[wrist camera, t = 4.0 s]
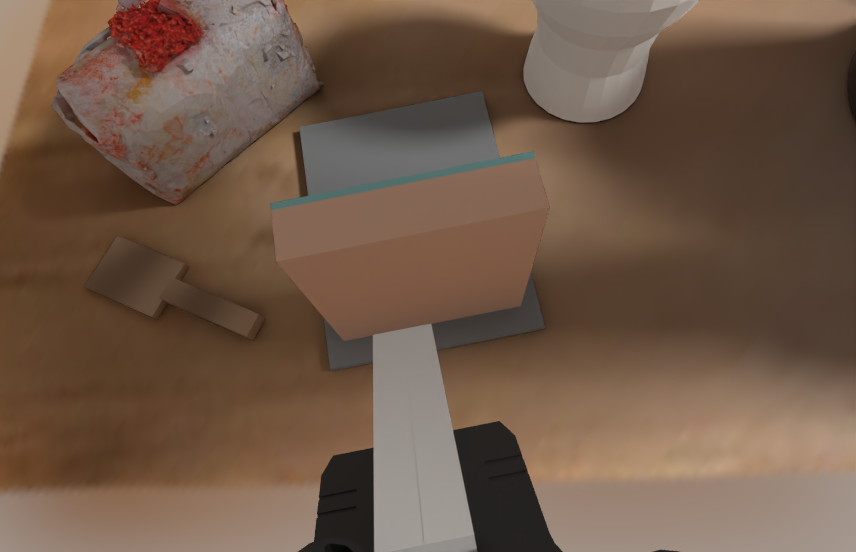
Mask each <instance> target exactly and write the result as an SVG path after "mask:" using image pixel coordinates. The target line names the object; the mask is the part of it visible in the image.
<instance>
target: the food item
mask: <svg viewBox="0 0 856 552" xmlns="http://www.w3.org/2000/svg"><path fill="white" fill-rule="evenodd" d="M144 1H145V0H118V2H119V3H118V6H117V8H116V10H117V11H118V12H116V13H117V14H115V15H114V17H113V18H112V19H110V20H111V21H110V20H109V21H108V24H109V27H108V28H106V29H105V30H103V31H102V32H101V33H99V34H98V35H97V36H96V37H95V38H93V39H92V40H91V41H90V42H88V43H87V44H86V45H85V46H84V48H83V49H82V51H81V52H80V54H79V55H78V57H77V59H76V61H75V63H74V64H73V65H72V66H70V67H69V68H68V69H67V70H65V71H64V72H63V73H61V74H60V75H59V76H58V77H57V79H56V82H57V87H58V92H57V96H56V97H54V103H53V104H52V105H51V106H52V107H53V108H54V109H55V111H56V112H57V113H58V114H59V115H60V117H61V118H62V120H63V121H64V122H65V123H66V125H67V126H68V127H69V128H70V129H71V130H73V131H74V132H76V133H78V134H79V135H80V136H81V137H82V139H83V140H85V141H86V142H88V143H89V144H90V145H92V146H93V147H95V148H96V149H97V150H98V152H99V153H100V154H101V155H102V156H103V157H104V158H106V159H107V160H108V161H110V162H111V163H112V164H114V165H115V166H116V167H118V168H119V169H120V170H122V171H123V172H124V173H125V174H126V175H127V176H129V177H130V178H131V179H133V180H134V181H136V182H137V183H138V184H140V185H141V186H142V187H144V188H145V189H147V190H148V191H150V192H151V193H153V194H154V195H156V196H158V197H160V198H162V199H164V200H166V201H168V202H171V203H173V204H175V205H177V204H179V203H180V202H182V201H184V200H185V199H186V198H187V197H188V196H189V195H190V194H191V193H192V192H193V191H194V190H195V189H196V188H198V187H199V186H200V185H201V184H202V183H204V182H205V181H207V180H208V179H209V178H211V177H212V176H213V175H214V174H216V173H217V172H218V171H219V170H220V169H221V168H222V167H223V166H224V165H225V164H226V163H227V162H229V161H230V160H232V159H233V158H235V157H236V156H237V155H239V154H240V153H241V152H242V151H243V150H245V149H246V148H247V147H248V146H249V145H251V144H252V143H253V142H254V141H255V140H256V139H257V138H259V137H261V136H262V135H264V134H265V133H266V132H267V131H268V130H270V129H271V128H272V127H274V126H275V125H276V124H278V123H279V122H280V121H281V120H283V119H284V118H285V117H286V116H288V114H289V113H290V112H291V111H293V110H294V109H295V108H297V107H298V106H299V105H300V104H302V103H303V101H304V100H305V99H307V98H308V97H310V96H311V95H313V94H314V93H316V92H317V91H318V90H319V88H320V87H321V86H323V87H324V85H323V81H320V80H319V79H318V77H317V75H316V73H315V72H316V70H315V67H314V63H313V61H312V59H311V56H310V54H309V51H308V48H307V47H304V46H303V41H302V36H301V34H300V31H299V29H298V27H297V25H296V23H294V22H293V21H292V19H291V17H290V16H289V14H288V11H287V5H285V3H284V0H149V1H148V2H147V3H145V2H144ZM143 2H144V4H141V3H143ZM139 5H140V6H141V8H139V9H138V7H139ZM121 6H123V7H124V9H122V7H121ZM118 7H119V8H118ZM109 36H112V37H110V38H109V39H108V40H107V37H109ZM87 50H88V51H87Z"/></svg>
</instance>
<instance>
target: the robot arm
mask: <svg viewBox="0 0 856 552" xmlns="http://www.w3.org/2000/svg"><path fill="white" fill-rule="evenodd" d="M848 93H849V100H850V104H851V108H852V111H853V114H854V116H855V119H856V53H855V55H854V57H853V60H852V62H851V66H850V69H849V75H848ZM373 440H374V448H370V449H365V450H360V451H355V452H350V453H345V454H340V455H334V456H333V457H332V459H331V460H330V462H329V464H328V465H327V467H326V469H325V470H324V472H323V474H322V475H321V484H320V493H319V498H320V500H319V502H318V511H317V514H318V518H317V520H316V529H315V538H314V542H312V543H310V544H308V545H307V546H306V547H304V548H303V549H301V550H300V551H299V552H562V551H561V550H560V548H559V547H558V546H557V545H556V544H555V543H554V541H553V539H552V537H551V535H550V533H549V531H548V528H547V525H546V522H545V519H544V516H543V514H542V511H541V508H540V505H539V502H538V499H537V496H536V494H535V491H534V488H533V485H532V482H531V479H530V477H529V474H528V472H527V468H526V465H525V462H524V460H523V458H522V454H521V451H520V448H519V445H518V443H517V440H516V437H515V435H514V434H513V433H512V432H511V431H510V430H508V429H507V428H506V427H505V426H504V425H503V424H502V423H501V422H500V421H498V422H493V423H488V424H483V425H478V426H473V427H467V428H462V429H457V430H453V428H452V423H451V418H450V413H449V408H448V404H447V399H446V394H445V389H444V384H443V379H442V374H441V369H440V364H439V359H438V354H437V350H436V345H435V340H434V335H433V330H432V325H431V324H426V325H421V326H416V327H411V328H405V329H400V330H395V331H390V332H385V333H380V334H375V335H373ZM654 552H678V551H667V550H658V551H654Z"/></svg>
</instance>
